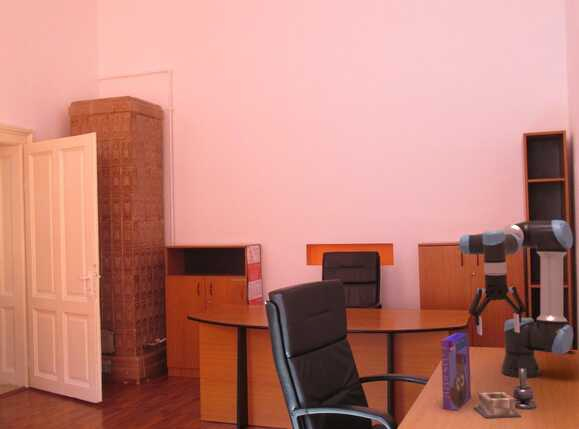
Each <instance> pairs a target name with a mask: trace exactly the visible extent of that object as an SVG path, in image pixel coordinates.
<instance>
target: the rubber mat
mask: <svg viewBox="0 0 579 429" xmlns="http://www.w3.org/2000/svg"><path fill="white" fill-rule="evenodd" d="M473 409H474V411H476V412H477V413H478V414H480V416H482V417H483V418H484V419H506V418H522V415H521V414H520V413H518V412H517V411H516V410H515V414H514V415H491V416H489V415H487V414H486V413H485V412H484V411H483V410H481V409H480V408H479V406H473Z"/></svg>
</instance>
